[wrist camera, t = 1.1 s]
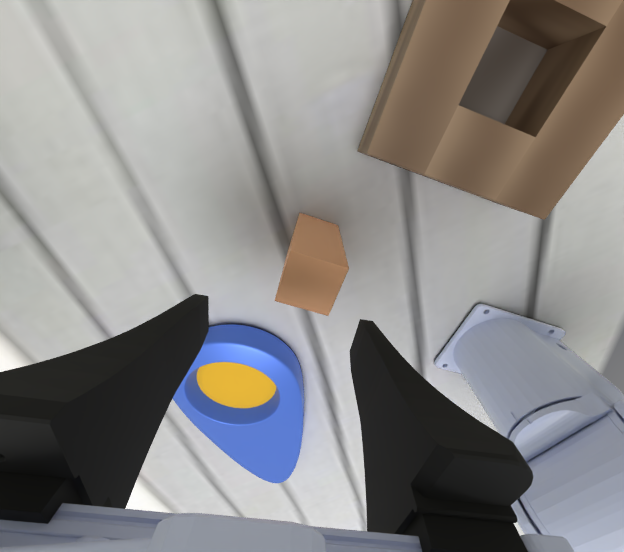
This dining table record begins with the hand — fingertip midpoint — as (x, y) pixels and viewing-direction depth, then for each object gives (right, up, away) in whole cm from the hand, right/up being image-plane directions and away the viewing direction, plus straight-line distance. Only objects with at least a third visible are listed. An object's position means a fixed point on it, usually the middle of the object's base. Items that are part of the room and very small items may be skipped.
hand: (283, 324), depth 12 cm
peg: (+1, +5, +9) cm, 11 cm away
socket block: (+12, +14, +4) cm, 19 cm away
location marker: (-5, -13, +19) cm, 24 cm away
